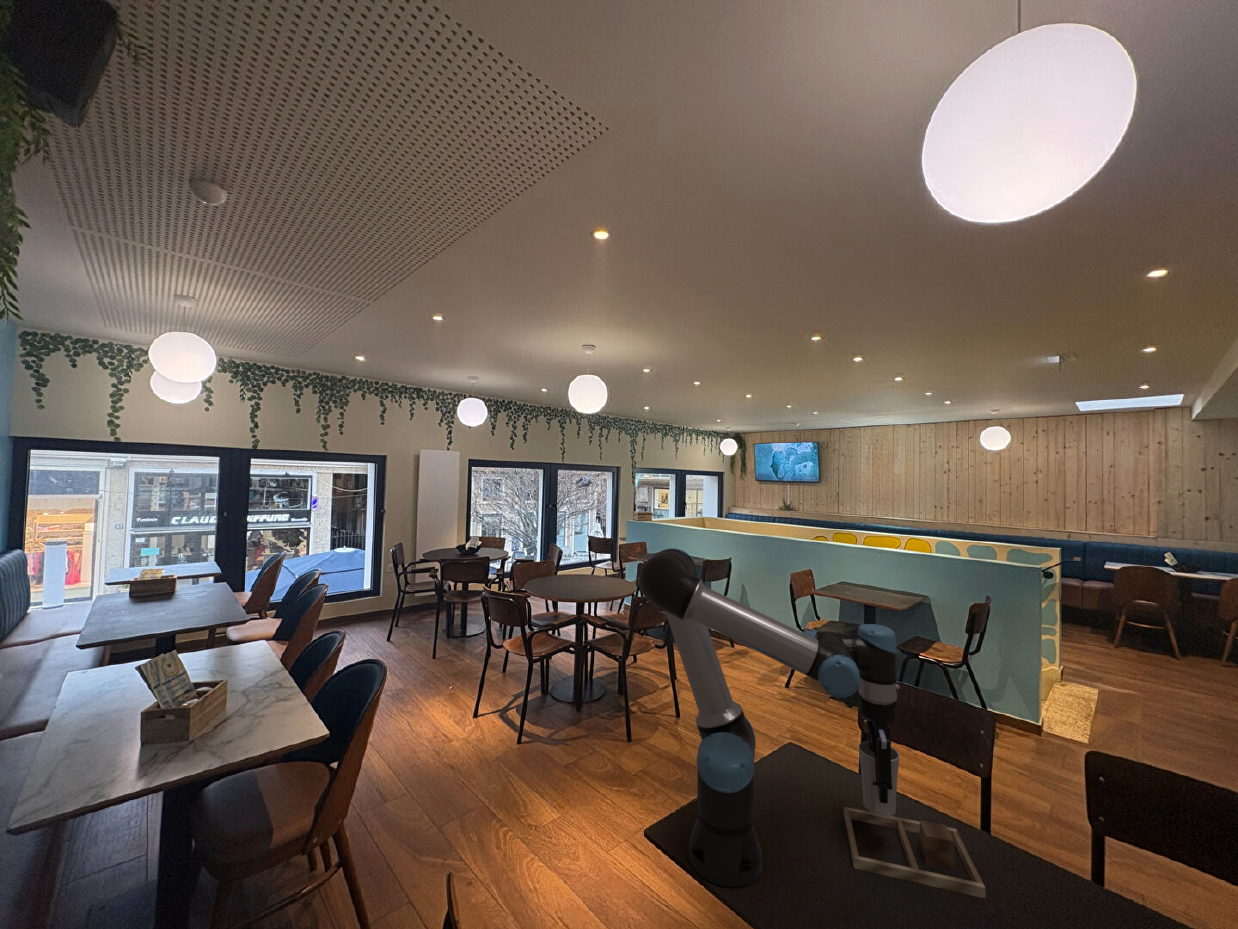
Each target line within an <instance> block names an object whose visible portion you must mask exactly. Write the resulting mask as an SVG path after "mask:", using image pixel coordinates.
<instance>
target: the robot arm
mask: <svg viewBox="0 0 1238 929" xmlns="http://www.w3.org/2000/svg"><path fill="white" fill-rule="evenodd" d="M638 583H639V588H640V591H641V593H642V595H643V596H644V597H645V599H646V600H647V601H648V602H649V603H651V604H652V605H653V606H655V607H656V608H657V611H658V613H661V614H663V615H664V616H666V618H667V620H668V621H667V622H668V624H669V626H670V629H671V633H672V636H673V638H674V642H675V645H676V647H677V650H678V654H679V656H680V659H681V662H682V665H683V669H684V670H685V674H686V678H687V680H688V683H689V685H690V686H689V687H690V688H691V693H692V695H693V698H694V701H695V704H696V707H697V710H698V712H697V714H696V717H695V724H696V727H697V729H698V730H697V731H698V733H699V736H700V739H701V741H700V743H699V745H698V748H697V754H696V767H697V794H696V795H697V800H696V801H697V804H696V805H697V807H696V808H697V811H696V812H697V815H696V820H695V822H694V824H693V828H692V830H691V834H690V836H689V837H690V838H689V842H688V858H689V861H690V864H691V865H692V868H693V869H694V870H695V872H696V873H697V874H698V875H699V876H701V877H702V878H703V879H705V880H706V881H708V882H710V883H712V884H714V885H717V886H720V887H726V888H742V887H746V886H748V885H750V884H753V883H754V882H755V881H757V879H758V878H759V877H760V875H761V874H762V872H763V871H762V870H763V851H762V848H761V845H760V842H759V838H758V835H757V832H756V828H755V824H754V815H755V814H754V810H755V809H754V806H755V805H754V803H755V802H754V798H755V797H754V796H755V795H754V794H755V793H754V787H755V786H754V785H755V782H754V781H755V767H756V765H755V757H756V756H755V754H756V753H755V752H756V748H757V747H756V745H757V744H756V742H757V741H756V735H755V732H754V729H753V726H752V724H751V722H750V721H749V719H748V718H747V717H746V716H745V713H744V710H743V707H742V705H740V703H737V702H736V701H734V700H733V697H732V695H731V692H730V689H729V686H728V683H727V680H726V678H725V675H724V671H723V669H722V665H721V663H720V659H719V657H718V654H717V651H716V648H715V646H714V642H713V639H712V637H711V634H710V631H709V629H711V630H712V631H715V632H717V633H719V634H721V635H724V636H725V637H728V638H729V639H731V640H734V641H736V642H737V643H740V644H741V645H744V646H745V647H748V648H750V649H752V650H754V651H755V652H758V653H760V654H761V655H764V656H765V657H767V658H770V659H771V660H774V661H776V662H778V663H780V664H783V665H784V666H786V667H788V668H790V669H792V670H794V671H797V672H798V673H800V674H803V675H804V676H806V677H809V678H810V679H812V680H814V681H816V682H817V683H819V684H820V686H821V687H822V688H823V689H824V691H825V692H827V693H828V694H829V695H831V696H833V697H836V698H848V697H851V696H853V695H854V694H855V693H856V692H857V691H858V694H859V696H858V711H859V713H860V714H861V716H862V717H863V718H865V719H867V720H866V728H867V731H866V741H870V750H871V751H873V752H874V755H875V759H876V760H875V770H876V782H873V781H872V783H873V785H875V814H876V815H877V816H882V817H887V818H890V790H892V776H891V747H892V741H891V739H890V737H891V730H890V728H888V724H891V723H894V722H896V721H897V720H898V702H897V700H898V692H897V690H900V689H901V687H900V685H899V684H897V680H898V679H897V672H898V671H897V666H898V665H897V659H898V658H897V657H898V656H897V654H898V650H897V649H898V648H897V639H896V633H895V632H894V630H892V629H891V628H889V627H888V626H885V625H881V624H875V623H869V624H868V623H863V624H860V625H858V627H857V633H847V632H846V633H845V632H835V631H825V630H818V629H817V630H804V631H803V632H802V631H800V630H797V629H795V628H793V627H791V626H789V625H787V624H785V623H783V622H781V621H779V620H776V619H775V618H773V617H770V616H768V615H767V614H764V613H761V612H759V611H757V610H755V609H754V608H751V607H749V606H747V605H745V604H742V603H740V602H739V601H736V600H734V599H732V598H730V597H728V596H726V595H724V594H722V593H720V592H717V591H715V590H714V589H712V588H710V587H707V586H706V585H705V583H704V582H703V580H702V579H701V578H699V577H698V568H697V564H696V562H695V560H694V559H693V557H692V556H691V555H690V554H689V553H688V552H687V551H684V550H682V549H679V548H676V547H675V548H666V549H662V550H661V551H658V552H657V553H656V554H654V555H653V556H652V557H651V558H649V559H647V560H646V562H644V564H643V565H642V567H641V569H640V572H639V577H638ZM708 628H709V629H708Z"/></svg>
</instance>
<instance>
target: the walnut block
mask: <svg viewBox="0 0 1238 929" xmlns="http://www.w3.org/2000/svg"><path fill="white" fill-rule="evenodd" d="M919 822H920V833H919V849H920V852H921V856H922V857H923V860H924V862H925V865H926V866H931V867H935V868H941V869H944V870H947V871H948V870H949V871H953V872H954V871H955V845H954V841H953V839H952V837H951V834H950V832H949V830H948V828H947V827H948V826H947V825H946V824H943V823H936V822H933V821H926V820H921V819H920V820H919Z"/></svg>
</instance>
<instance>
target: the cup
mask: <svg viewBox="0 0 1238 929" xmlns="http://www.w3.org/2000/svg"><path fill="white" fill-rule="evenodd" d="M858 755H859V764H860V773H861V774H860V775H861V776H860V777H861V786H862V796H863V797H862V804H863V806H864V807H865V808H866V809H867V810H868V811H869V812H873V813H875V785H873V783H872V781H873V782H876V770H875V760H876V759H875V755H874V752H873V751H871V750H870V741H867V740H866V741H862V742H860V744H858ZM899 766H900V753H899V752H898V750H896V749H895V748H894V747H892V746H891V776H892V790H890V816H894V815H895V814H897V813H896V812H897V804H896V802H897V800H896V799H897V791H898V790H897V789H898V788H897V786H898V773H899Z"/></svg>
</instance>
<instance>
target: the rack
mask: <svg viewBox="0 0 1238 929" xmlns="http://www.w3.org/2000/svg"><path fill="white" fill-rule="evenodd" d="M843 817H844V824H845V827H846V833H847V838H848V844H849V850H850V854H851V855H850V856H851V860H852V864H853V869H854V870H855V869H856V870H859V871H864V872H867V873H868V872H869V873H873V874H877V875H881V876H886V877H890V878H893V879H894V878H895V879H898V880H904V881H907V882H912V883H917V884H920V885H925V886H929V887H933V888H938V889H943V890H947V891H951V892H955V893H959V894H964V895H968V896H973V897H977V898H980V899H986V886H985V884H984V881H983V880H982V878H981V876H980V875H979V873H978V870H977V868H976V866H975V865H974V862H973V861H972V858H971V856H970V854H969V853H968V850H967V848H966V845H965V844H964V842H963V840H962V838H961V836H960V834H959V832H958V830H957V829H956V828H955V827H954V828H953V827H948V826H947V828H948V830H949V832H950V834H951V837H952V839H953V841H954V848H956V851H957V853H958V855H959V858H960V859H961V861H962V864H963V867H964V868H965V871H966V872H967V874H968V876H969V879H970V880H967V879H963V878H958V877H953V876H950V875H944V874H940V873H936V872H932V871H931V872H930V871H927V870H922V869H919V866H918V863H917V860H916V858H915V855H914V853H913V849H912V847H911V846H912V845H911V844H910V840H909V838H908V835H907V832H911V833H916V834H920V820H919V821H918V820H913V819H909V818H908V819H907V818H902V817H898V816H894V815H892V816H890V818H887V817H882V816H877V815H876V814H875V813H873V812H871V811H869V810H868V811H867V810H862V809H858V808H853V807H848V806H847V807H846V806H843ZM852 820H853V821H856V822H857V821H858V822H863V823H868V824H873V825H878V826H882V827H887V828H892V829H896V830H897V831H896V832H897V833H898V837H899V840H900V843H901V845H902V849H903V852H904V854H905V855H904V856H905V858H906V861H907V863H908V866H904V865H900V864H895V863H891V862H887V861H883V860H878V859H873V858H869V857H864V856H859V852H858V848H857V842H856V837H855V833H854V827H853V822H852ZM906 831H907V832H906Z"/></svg>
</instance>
